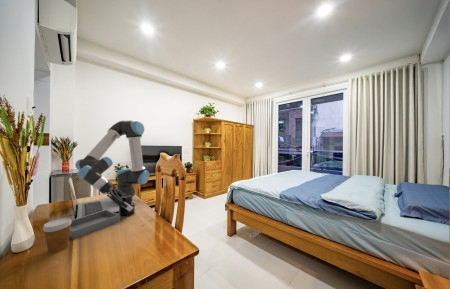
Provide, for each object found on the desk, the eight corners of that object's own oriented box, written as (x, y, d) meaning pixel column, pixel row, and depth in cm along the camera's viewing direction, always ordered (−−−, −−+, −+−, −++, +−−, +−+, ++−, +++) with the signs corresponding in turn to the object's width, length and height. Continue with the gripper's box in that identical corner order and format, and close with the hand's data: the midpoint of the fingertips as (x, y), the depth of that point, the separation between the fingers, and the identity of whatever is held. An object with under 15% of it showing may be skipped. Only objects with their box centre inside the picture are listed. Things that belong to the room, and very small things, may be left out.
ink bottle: (138, 211, 118) (137, 194, 118) (129, 217, 109) (129, 198, 109) (124, 211, 119) (124, 193, 119) (115, 216, 110) (114, 198, 110)
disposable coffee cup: (37, 252, 76) (36, 225, 75) (63, 240, 85) (62, 216, 84) (52, 257, 73) (51, 228, 72) (77, 244, 82) (76, 218, 81)
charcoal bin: (107, 215, 112) (106, 209, 112) (119, 221, 104) (119, 215, 104) (61, 230, 94) (61, 223, 94) (72, 239, 85) (72, 231, 85)
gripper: (103, 185, 118) (130, 205, 125) (92, 195, 98) (125, 218, 105) (112, 177, 120) (138, 197, 126) (103, 184, 100) (134, 208, 106)
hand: (132, 206), depth 115 cm, fingers closed on ink bottle, 9 cm apart
